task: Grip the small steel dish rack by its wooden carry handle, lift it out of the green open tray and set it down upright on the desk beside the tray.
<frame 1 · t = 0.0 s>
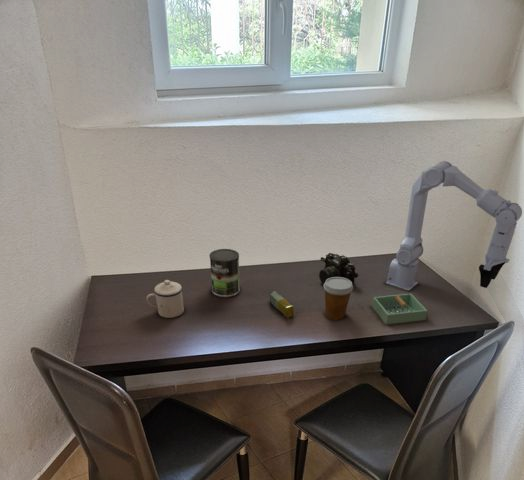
hand: (487, 282, 153), 10 cm above the table, tool pointing down, fingers open, 7 cm apart
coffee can: (226, 290, 169), on the table
disposable coffee cup: (335, 315, 155), on the table
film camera: (334, 282, 175), on the table
teacup with lid: (166, 312, 157), on the table
green open tray: (397, 314, 156), on the table
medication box: (281, 310, 158), on the table
dish rack: (398, 312, 155), resting on green open tray
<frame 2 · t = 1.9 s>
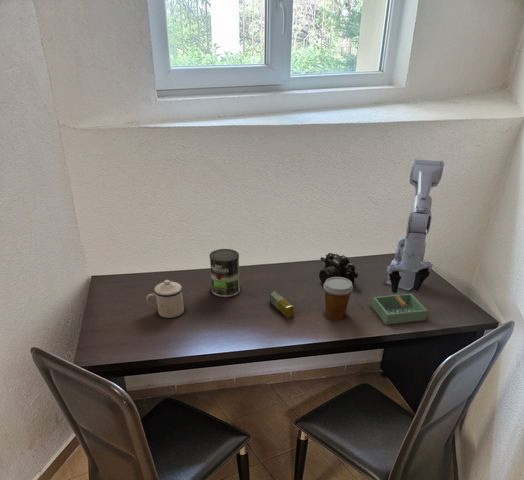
hand: (404, 290, 151), 9 cm above the table, tool pointing down, fingers open, 7 cm apart
nothing on the table moved.
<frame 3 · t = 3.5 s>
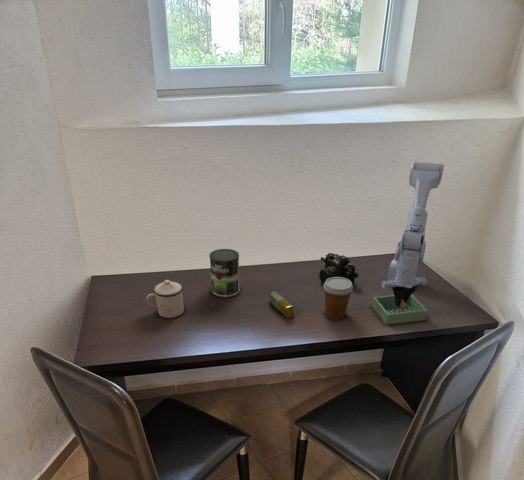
hand: (399, 305, 154), 3 cm above the table, tool pointing down, fingers closed on dish rack
dish rack: (398, 312, 155), resting on green open tray, touching gripper
everything else where it was.
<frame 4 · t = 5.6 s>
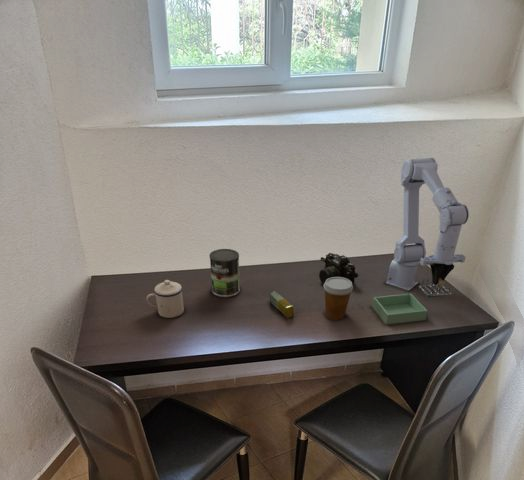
hand: (436, 283, 152), 10 cm above the table, tool pointing down, fingers closed on dish rack
dish rack: (434, 291, 153), point 7 cm above the table, touching gripper
everything else where it was.
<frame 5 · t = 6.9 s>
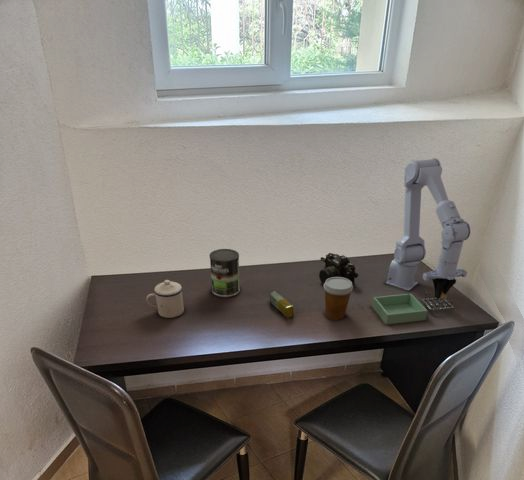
hand: (439, 297, 155), 5 cm above the table, tool pointing down, fingers closed on dish rack
dish rack: (437, 304, 157), point 2 cm above the table, touching gripper
everything else where it was.
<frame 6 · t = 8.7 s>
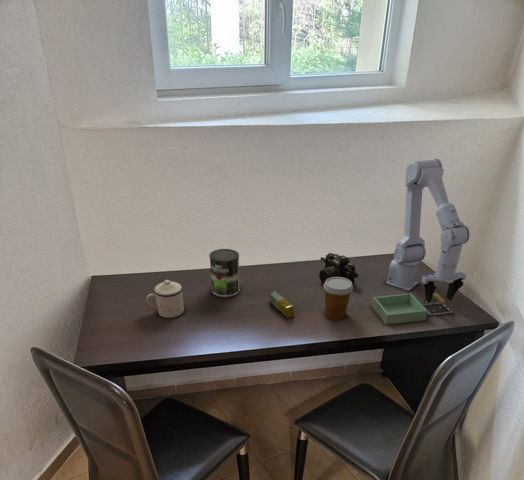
hand: (438, 300, 156), 4 cm above the table, tool pointing down, fingers open, 7 cm apart
dish rack: (435, 309, 158), on the table
everything else where it was.
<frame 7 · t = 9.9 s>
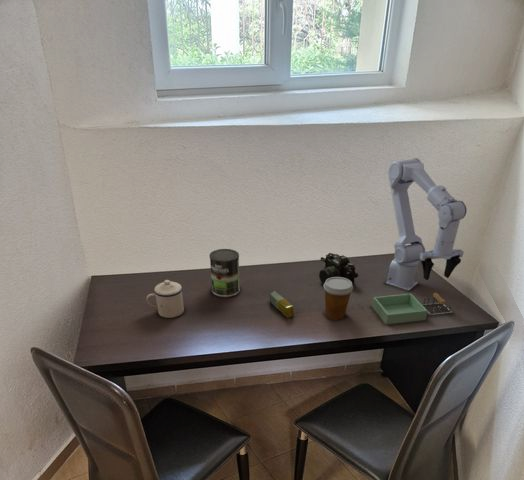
hand: (436, 277, 157), 9 cm above the table, tool pointing down, fingers open, 7 cm apart
nothing on the table moved.
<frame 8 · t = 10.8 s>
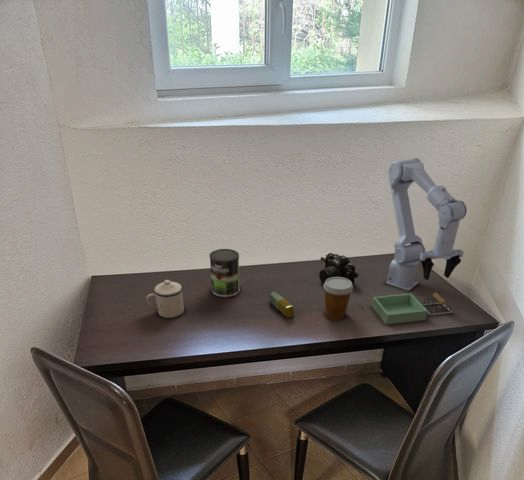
hand: (436, 277, 157), 9 cm above the table, tool pointing down, fingers open, 7 cm apart
nothing on the table moved.
at the end: dish rack inside the target area (0.1 cm from its centre), on the table; dish rack tilted 0°; the gripper is holding nothing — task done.
